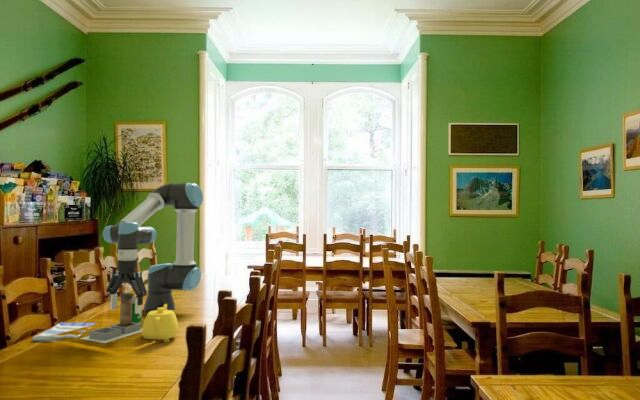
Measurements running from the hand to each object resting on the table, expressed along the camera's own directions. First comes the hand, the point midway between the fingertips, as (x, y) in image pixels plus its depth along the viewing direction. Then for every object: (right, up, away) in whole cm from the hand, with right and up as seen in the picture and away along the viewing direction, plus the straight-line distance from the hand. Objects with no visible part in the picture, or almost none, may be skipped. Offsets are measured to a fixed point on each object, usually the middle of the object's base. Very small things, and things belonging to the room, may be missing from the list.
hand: (125, 311), depth 186 cm
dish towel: (-23, -10, 0) cm, 25 cm away
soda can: (-3, -10, +13) cm, 17 cm away
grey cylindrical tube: (0, -8, 0) cm, 8 cm away
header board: (-2, -9, -4) cm, 10 cm away
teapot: (+16, -10, -6) cm, 20 cm away
